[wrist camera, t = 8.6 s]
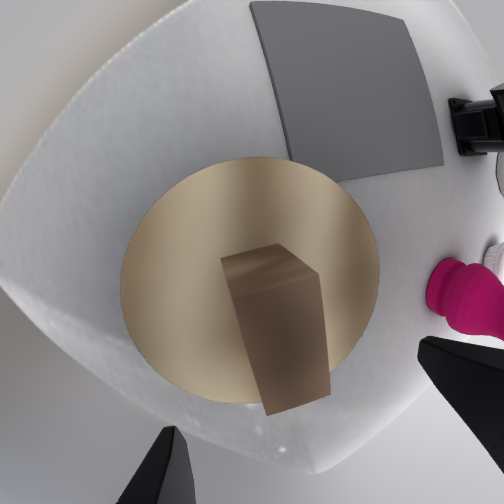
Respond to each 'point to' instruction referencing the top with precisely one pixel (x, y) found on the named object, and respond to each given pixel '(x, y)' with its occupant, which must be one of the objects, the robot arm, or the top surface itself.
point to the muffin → (495, 260)
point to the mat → (348, 89)
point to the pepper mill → (467, 298)
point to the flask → (501, 171)
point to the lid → (250, 282)
